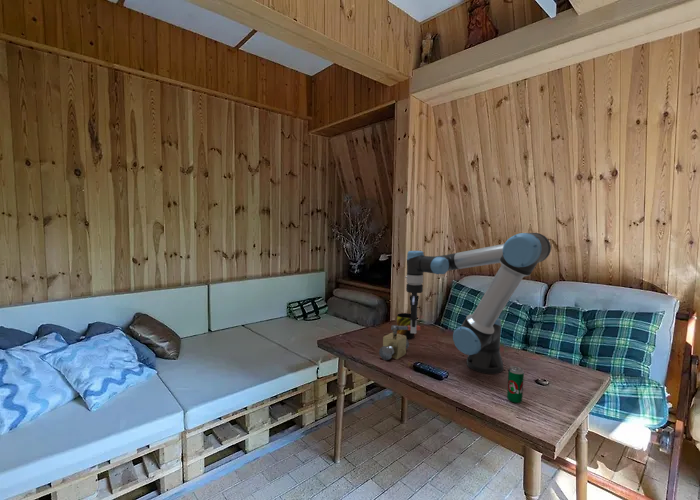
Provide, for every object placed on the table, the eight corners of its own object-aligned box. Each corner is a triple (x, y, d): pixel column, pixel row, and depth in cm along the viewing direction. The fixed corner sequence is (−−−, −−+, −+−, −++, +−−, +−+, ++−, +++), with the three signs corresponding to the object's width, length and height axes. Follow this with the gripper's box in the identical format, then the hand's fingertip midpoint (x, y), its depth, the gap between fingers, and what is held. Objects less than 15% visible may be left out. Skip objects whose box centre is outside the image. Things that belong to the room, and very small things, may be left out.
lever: (391, 337, 162) (391, 327, 161) (390, 334, 165) (390, 325, 165) (420, 337, 162) (420, 327, 162) (418, 334, 166) (419, 325, 165)
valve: (396, 347, 174) (396, 330, 173) (410, 351, 169) (410, 333, 168) (377, 357, 160) (378, 339, 159) (392, 362, 155) (392, 343, 154)
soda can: (517, 396, 126) (519, 365, 125) (525, 404, 121) (527, 371, 120) (504, 396, 126) (505, 365, 125) (511, 404, 121) (512, 371, 120)
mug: (400, 330, 200) (401, 310, 199) (417, 337, 188) (418, 316, 187) (388, 333, 194) (388, 313, 193) (405, 340, 183) (405, 319, 182)
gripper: (407, 281, 167) (406, 328, 169) (405, 285, 155) (404, 336, 156) (423, 282, 165) (422, 329, 167) (422, 286, 153) (420, 337, 154)
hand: (413, 333), depth 161 cm, fingers closed
